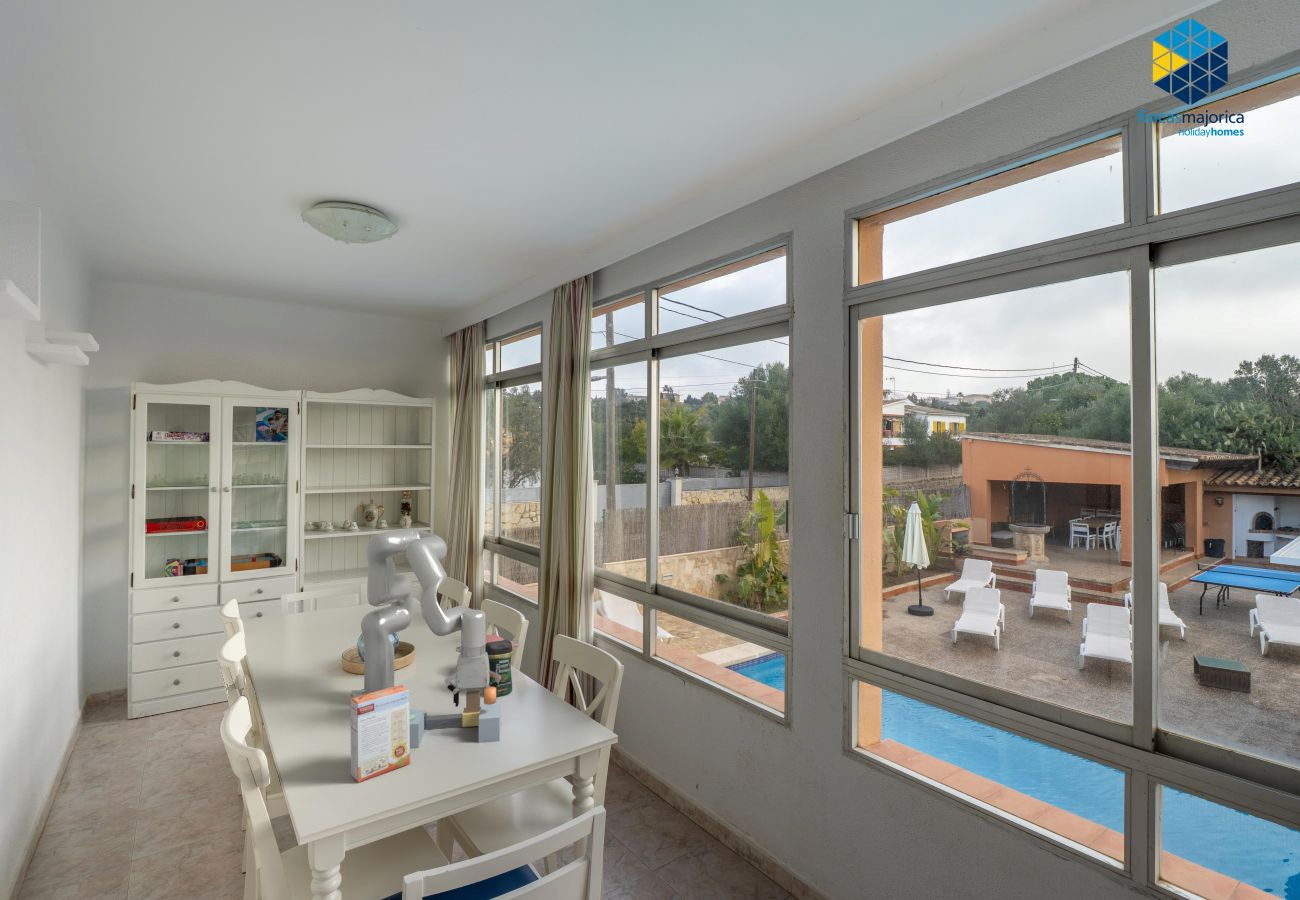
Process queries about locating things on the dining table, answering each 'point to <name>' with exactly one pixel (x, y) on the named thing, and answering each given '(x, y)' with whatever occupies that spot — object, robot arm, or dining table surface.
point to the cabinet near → (416, 727)
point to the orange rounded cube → (489, 695)
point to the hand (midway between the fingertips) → (472, 703)
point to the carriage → (471, 709)
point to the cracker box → (379, 732)
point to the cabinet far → (490, 723)
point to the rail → (442, 721)
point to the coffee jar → (500, 664)
